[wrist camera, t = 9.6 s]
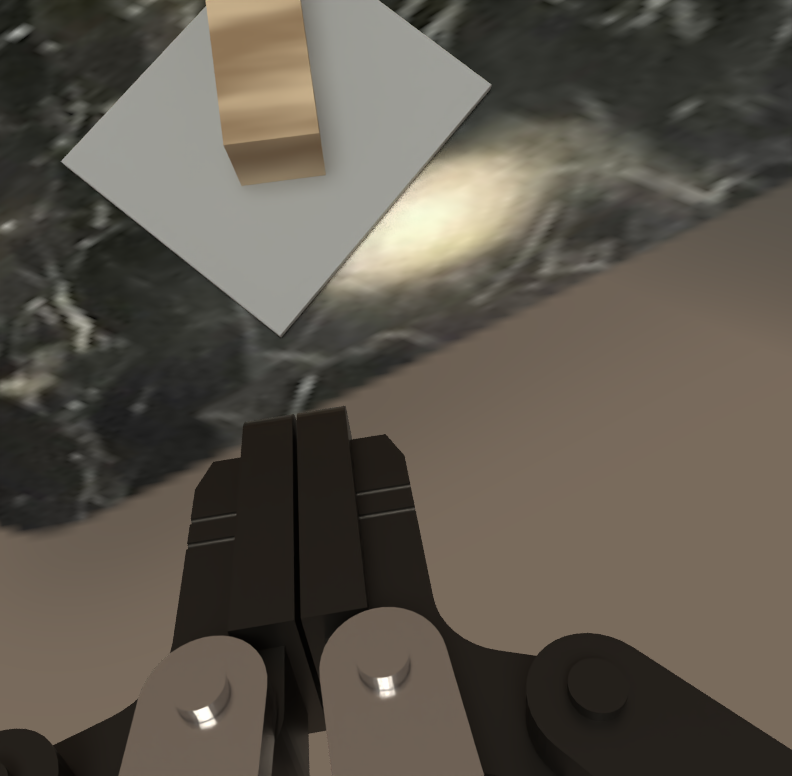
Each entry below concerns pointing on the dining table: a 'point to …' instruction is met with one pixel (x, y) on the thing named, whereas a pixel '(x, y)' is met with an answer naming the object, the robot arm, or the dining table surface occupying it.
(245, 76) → the birch block
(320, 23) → the rubber mat
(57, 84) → the dining table surface
